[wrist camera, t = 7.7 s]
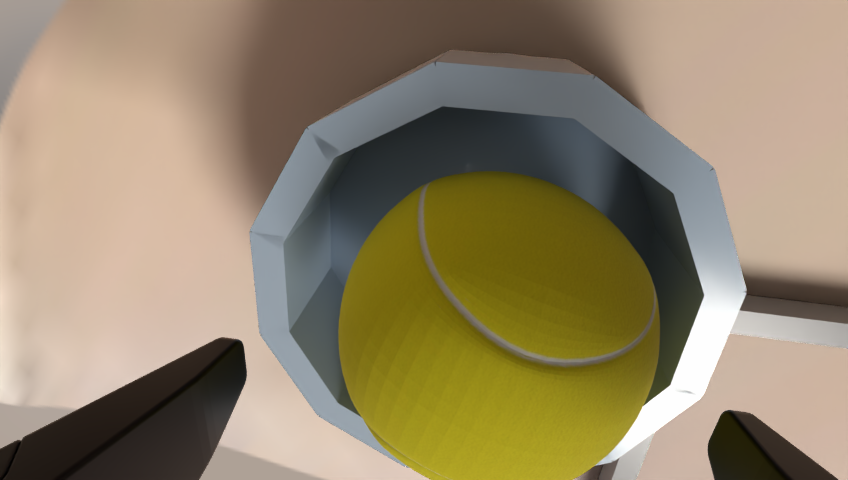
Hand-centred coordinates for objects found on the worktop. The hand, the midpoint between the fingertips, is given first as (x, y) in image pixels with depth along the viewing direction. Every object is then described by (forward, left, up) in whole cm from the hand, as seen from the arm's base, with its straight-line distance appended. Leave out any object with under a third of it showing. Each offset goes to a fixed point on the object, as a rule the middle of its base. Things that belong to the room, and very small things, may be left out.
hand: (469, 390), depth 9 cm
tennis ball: (0, 0, -6) cm, 6 cm away
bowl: (0, 0, -6) cm, 7 cm away
